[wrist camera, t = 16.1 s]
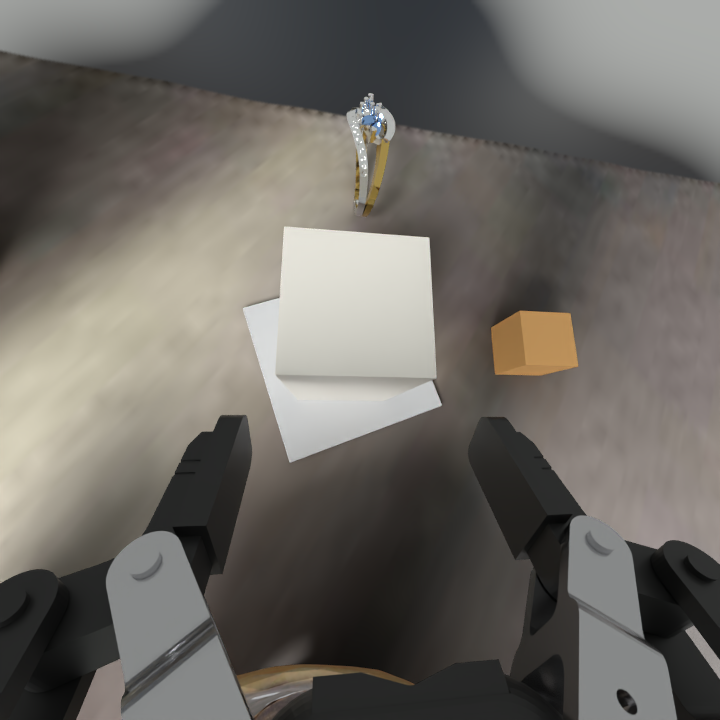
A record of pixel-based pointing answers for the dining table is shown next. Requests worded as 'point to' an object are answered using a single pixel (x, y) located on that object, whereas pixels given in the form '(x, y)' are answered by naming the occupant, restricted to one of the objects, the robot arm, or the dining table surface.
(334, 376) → the white rectangular block
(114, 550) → the dining table surface
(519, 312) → the fully visible orange block
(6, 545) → the dining table surface
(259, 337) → the mat
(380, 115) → the ring
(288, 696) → the bowl
